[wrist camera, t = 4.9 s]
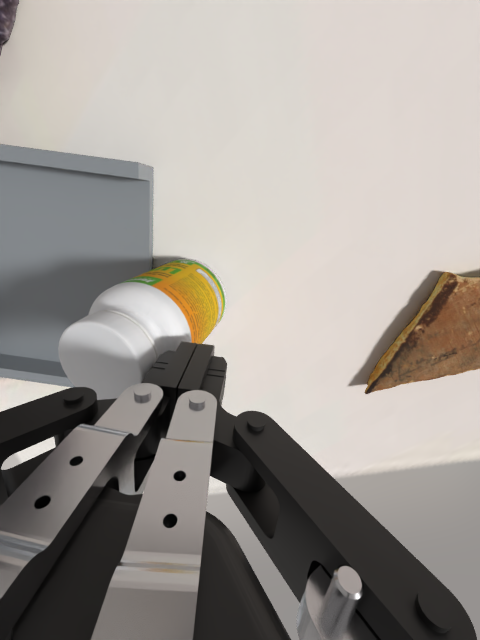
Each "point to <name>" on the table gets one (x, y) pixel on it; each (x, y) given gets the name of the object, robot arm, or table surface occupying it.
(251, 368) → the table surface
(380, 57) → the table surface
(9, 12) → the crystal cluster
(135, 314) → the supplement bottle
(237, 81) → the table surface
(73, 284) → the tray
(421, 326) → the shard
